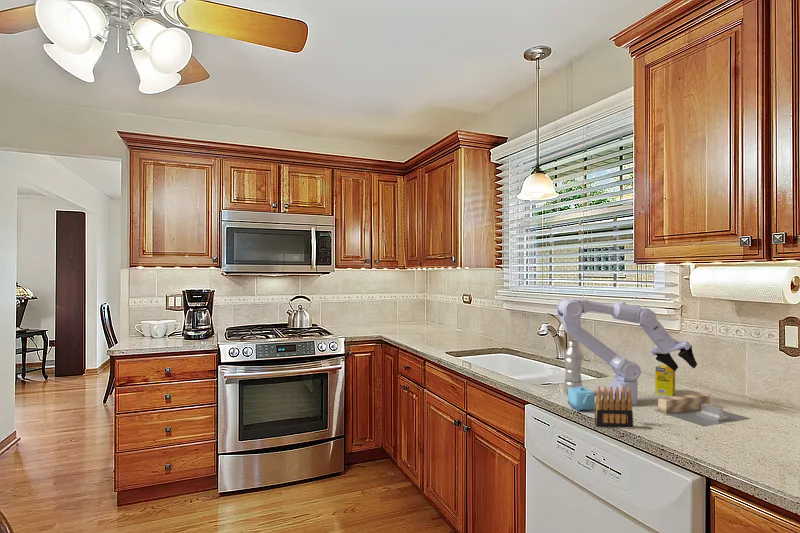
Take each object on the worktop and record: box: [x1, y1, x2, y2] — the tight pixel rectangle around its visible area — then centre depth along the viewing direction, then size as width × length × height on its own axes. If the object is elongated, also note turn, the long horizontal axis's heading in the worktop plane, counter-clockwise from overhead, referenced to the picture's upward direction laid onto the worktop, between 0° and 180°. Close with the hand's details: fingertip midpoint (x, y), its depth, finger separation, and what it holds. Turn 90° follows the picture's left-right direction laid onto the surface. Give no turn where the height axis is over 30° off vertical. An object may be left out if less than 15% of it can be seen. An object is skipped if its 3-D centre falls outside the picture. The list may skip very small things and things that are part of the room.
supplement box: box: [654, 364, 676, 397], centre depth 181 cm, size 6×6×11 cm
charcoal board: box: [654, 409, 752, 427], centre depth 154 cm, size 21×17×1 cm
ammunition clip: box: [594, 385, 634, 429], centre depth 145 cm, size 11×2×12 cm, turn 86°
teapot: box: [567, 385, 596, 412], centre depth 162 cm, size 12×6×8 cm, turn 3°
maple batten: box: [657, 392, 711, 415], centre depth 160 cm, size 20×3×4 cm, turn 111°
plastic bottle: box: [563, 339, 584, 394], centre depth 182 cm, size 6×7×20 cm
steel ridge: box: [697, 404, 728, 422], centre depth 151 cm, size 4×7×4 cm, turn 21°
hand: (685, 367), depth 167 cm, fingers open, 7 cm apart
